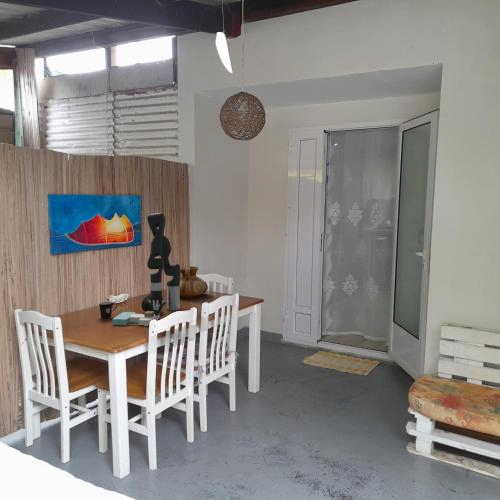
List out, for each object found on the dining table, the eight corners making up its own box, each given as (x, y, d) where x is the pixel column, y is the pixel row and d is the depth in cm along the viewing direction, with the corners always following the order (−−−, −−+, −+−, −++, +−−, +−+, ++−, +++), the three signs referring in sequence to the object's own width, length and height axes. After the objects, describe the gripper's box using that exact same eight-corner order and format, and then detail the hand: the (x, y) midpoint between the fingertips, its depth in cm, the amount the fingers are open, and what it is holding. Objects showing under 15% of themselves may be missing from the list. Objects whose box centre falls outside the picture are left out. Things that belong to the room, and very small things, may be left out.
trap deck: (123, 317, 303) (123, 311, 303) (159, 318, 301) (159, 312, 300) (112, 324, 286) (112, 318, 285) (151, 326, 283) (150, 319, 283)
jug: (166, 294, 378) (165, 264, 375) (199, 290, 392) (199, 262, 389) (178, 301, 352) (177, 269, 349) (213, 297, 366) (213, 267, 363)
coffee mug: (99, 319, 298) (98, 304, 297) (99, 316, 306) (99, 301, 305) (117, 318, 301) (117, 303, 300) (117, 315, 309) (117, 300, 308)
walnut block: (146, 314, 295) (146, 311, 294) (154, 315, 294) (154, 311, 294) (144, 316, 290) (144, 313, 289) (151, 317, 289) (151, 313, 289)
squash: (135, 307, 309) (149, 291, 308) (140, 303, 324) (154, 287, 323) (150, 321, 309) (164, 305, 308) (155, 316, 324) (169, 301, 323)
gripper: (167, 288, 292) (168, 314, 294) (148, 287, 294) (148, 313, 296) (164, 290, 285) (165, 317, 287) (144, 290, 286) (144, 316, 288)
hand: (156, 315), depth 291 cm, fingers closed
